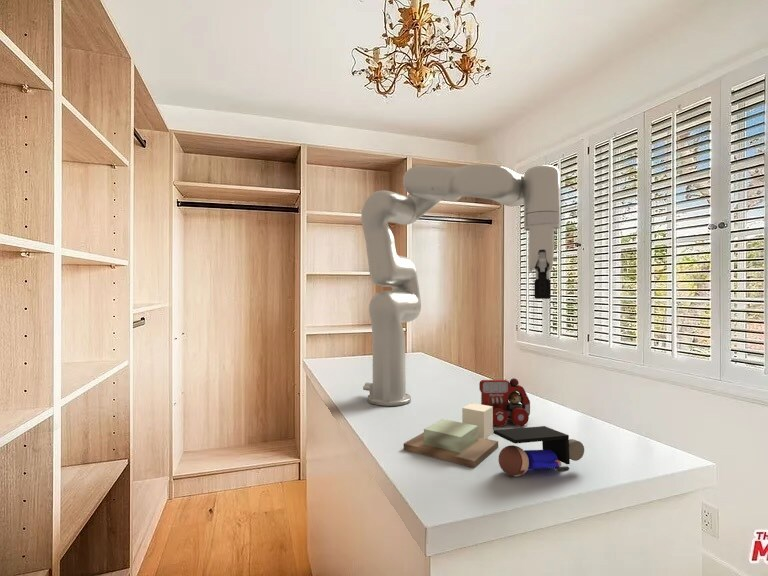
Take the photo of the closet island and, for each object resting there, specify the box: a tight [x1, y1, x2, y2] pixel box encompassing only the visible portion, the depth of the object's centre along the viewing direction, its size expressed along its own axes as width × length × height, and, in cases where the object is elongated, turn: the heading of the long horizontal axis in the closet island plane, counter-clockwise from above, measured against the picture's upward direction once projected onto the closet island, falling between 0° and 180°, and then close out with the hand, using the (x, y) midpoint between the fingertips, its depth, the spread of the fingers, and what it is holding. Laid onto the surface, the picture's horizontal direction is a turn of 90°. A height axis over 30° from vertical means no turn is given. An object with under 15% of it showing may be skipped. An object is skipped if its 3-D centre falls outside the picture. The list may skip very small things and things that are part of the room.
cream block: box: [461, 402, 494, 439], centre depth 92 cm, size 5×5×6 cm
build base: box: [403, 418, 499, 469], centre depth 84 cm, size 15×12×4 cm
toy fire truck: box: [478, 377, 531, 428], centre depth 101 cm, size 7×12×10 cm, turn 97°
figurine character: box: [493, 425, 585, 477], centre depth 74 cm, size 7×8×15 cm
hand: (542, 298), depth 94 cm, fingers open, 9 cm apart
